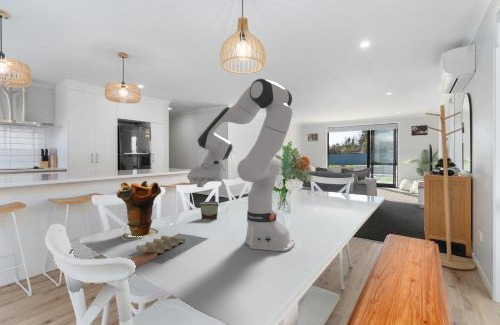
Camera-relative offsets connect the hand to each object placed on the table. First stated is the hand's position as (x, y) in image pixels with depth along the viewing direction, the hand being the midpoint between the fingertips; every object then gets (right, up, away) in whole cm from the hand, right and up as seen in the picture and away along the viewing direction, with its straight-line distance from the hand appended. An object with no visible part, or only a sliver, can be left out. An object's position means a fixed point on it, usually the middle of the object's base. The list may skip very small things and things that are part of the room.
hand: (199, 186), depth 122 cm
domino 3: (-10, -23, -19) cm, 32 cm away
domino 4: (-8, -23, -15) cm, 29 cm away
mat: (-8, -25, -17) cm, 31 cm away
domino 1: (-11, -24, -23) cm, 35 cm away
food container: (0, -23, +32) cm, 39 cm away
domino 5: (-6, -23, -12) cm, 27 cm away
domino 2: (-13, -24, -26) cm, 38 cm away
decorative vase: (-30, -25, +2) cm, 39 cm away
